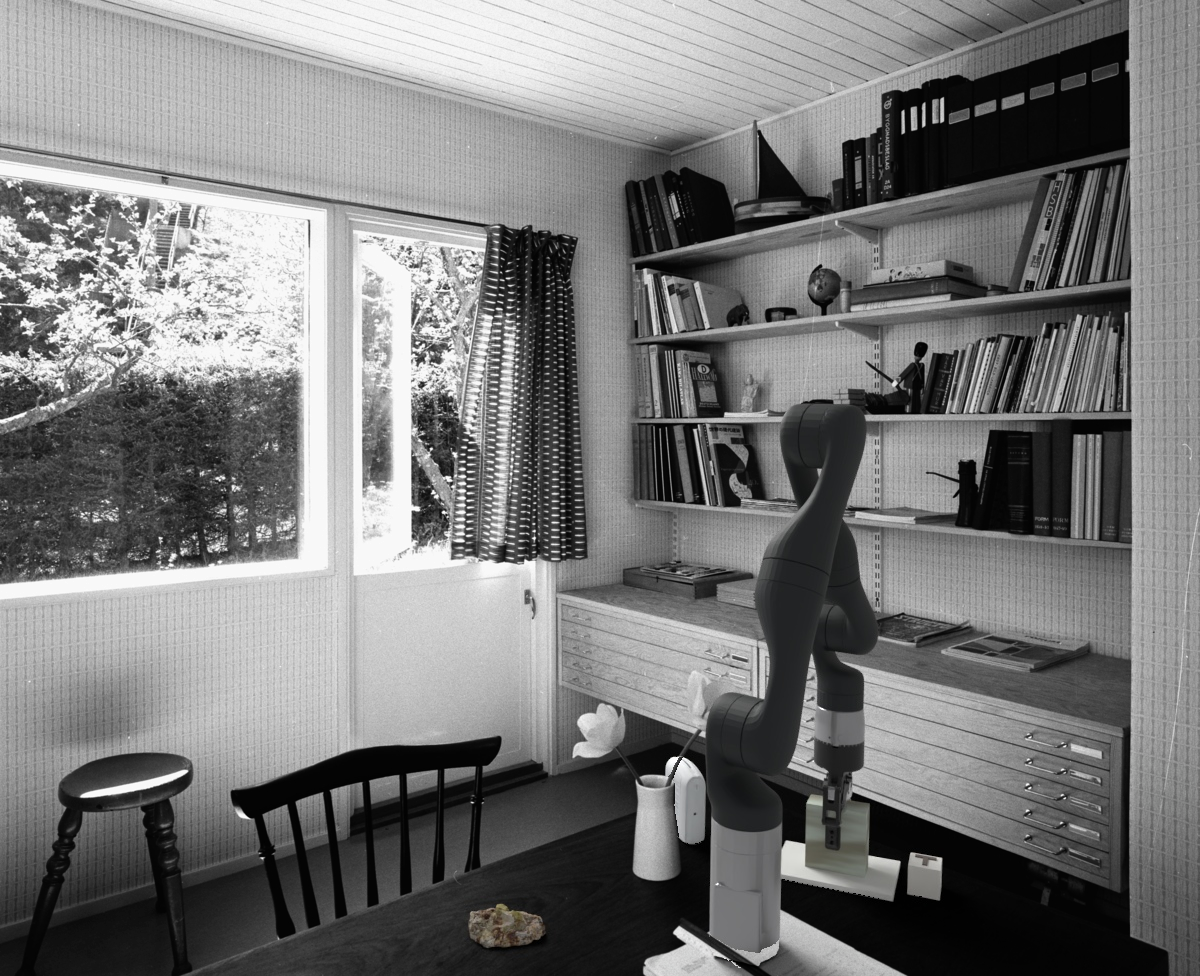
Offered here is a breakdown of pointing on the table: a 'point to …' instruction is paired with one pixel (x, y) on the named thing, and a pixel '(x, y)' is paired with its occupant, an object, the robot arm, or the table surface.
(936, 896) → the letter cube
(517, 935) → the mineral rock
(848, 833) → the pale green rectangular block
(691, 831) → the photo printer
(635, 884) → the table surface
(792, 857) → the mat
